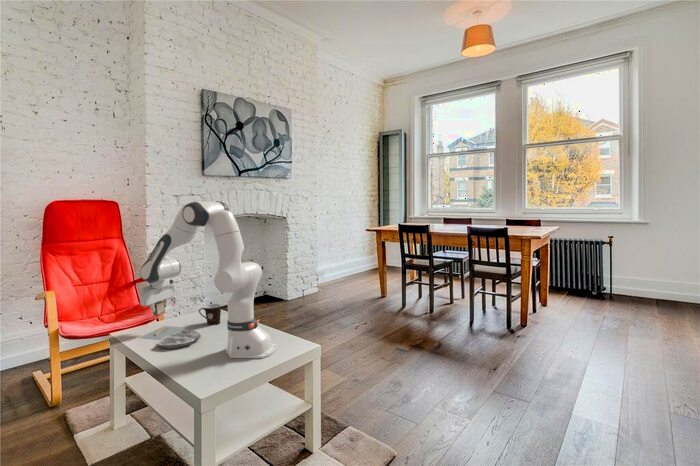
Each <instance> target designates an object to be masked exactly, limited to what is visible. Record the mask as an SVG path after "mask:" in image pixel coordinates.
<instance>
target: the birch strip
mask: <svg viewBox="0 0 700 466" xmlns="http://www.w3.org/2000/svg"><path fill="white" fill-rule="evenodd" d="M167 330H169V328H166V329H163V330H161V331H159V332H157V333H155V336H157V335H159V334H161V333H163V332H165V331H167Z"/></svg>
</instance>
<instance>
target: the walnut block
mask: <svg viewBox="0 0 700 466" xmlns="http://www.w3.org/2000/svg"><path fill="white" fill-rule="evenodd" d="M154 307H155V308H156V311H155V312H152V313H153V317H158V316H161V315H163V314H166V308H165V303H164V301H163V300H162V301H159V302H157V303H155V305H154Z"/></svg>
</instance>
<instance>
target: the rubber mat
mask: <svg viewBox="0 0 700 466" xmlns="http://www.w3.org/2000/svg"><path fill="white" fill-rule="evenodd" d="M166 328H169V330H167V331H165V332H163V333H161V334H159V335H157V336H155V333H157V332H159V331H161V330H163V329H166ZM183 330H187V327H182V326H171V325H164V326H162V327H159V328H157V329H155V330H153V331H150V332H148V333H146V334H144V335H142V336H140V337H138V339H145V340H154V341H155V340H156V341H161V340H162V338H164V337H166V336H168V335H171V334H175V333H178V332H180V331H183Z"/></svg>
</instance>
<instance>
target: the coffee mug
mask: <svg viewBox="0 0 700 466" xmlns="http://www.w3.org/2000/svg"><path fill="white" fill-rule="evenodd" d="M201 310H203V311H204V312H205V315H204V314H202V313H201ZM221 312H222V304H220V303H211V304H207V305H205V306H204V307H200V308H199V310H198V313H199V315H200V316H202V317H203V318H205V319H206V323H207V325H208V326H218V325H220V323H221V315H222V314H221Z"/></svg>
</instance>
